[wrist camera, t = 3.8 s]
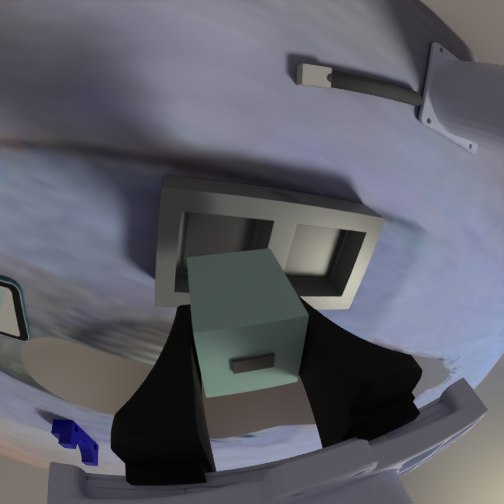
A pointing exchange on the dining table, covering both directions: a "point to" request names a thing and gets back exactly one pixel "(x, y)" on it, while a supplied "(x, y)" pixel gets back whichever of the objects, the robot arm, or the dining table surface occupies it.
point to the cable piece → (353, 84)
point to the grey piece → (264, 236)
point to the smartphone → (13, 311)
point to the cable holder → (76, 440)
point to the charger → (245, 321)
